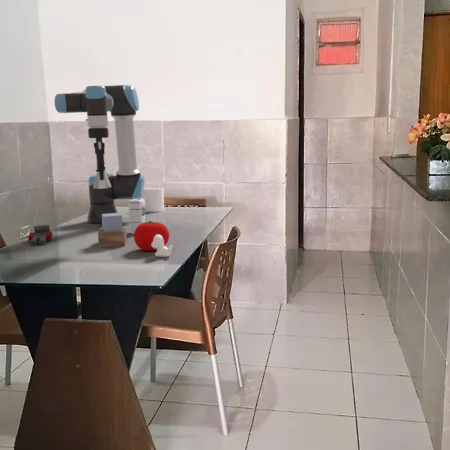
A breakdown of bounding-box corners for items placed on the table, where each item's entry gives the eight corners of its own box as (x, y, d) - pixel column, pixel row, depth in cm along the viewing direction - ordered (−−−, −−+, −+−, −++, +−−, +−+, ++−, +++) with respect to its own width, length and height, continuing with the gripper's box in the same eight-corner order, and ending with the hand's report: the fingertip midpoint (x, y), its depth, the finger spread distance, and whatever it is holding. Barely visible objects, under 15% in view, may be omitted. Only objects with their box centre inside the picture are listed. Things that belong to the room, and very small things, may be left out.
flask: (94, 187, 220) (92, 161, 218) (112, 186, 221) (111, 161, 219) (91, 189, 213) (89, 163, 211) (110, 188, 214) (108, 162, 212)
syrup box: (142, 233, 241) (140, 200, 238) (129, 233, 242) (127, 200, 239) (147, 231, 246) (145, 198, 243) (134, 231, 247) (132, 198, 245)
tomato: (131, 248, 213) (129, 220, 211) (164, 244, 218) (163, 217, 216) (139, 255, 202) (137, 225, 200) (173, 250, 207) (172, 221, 205)
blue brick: (102, 228, 223) (101, 214, 222) (120, 227, 225) (119, 212, 224) (104, 231, 217) (103, 216, 216) (122, 230, 219) (121, 215, 218)
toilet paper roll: (162, 212, 298) (161, 189, 296) (140, 212, 298) (139, 190, 296) (165, 208, 309) (164, 187, 307) (144, 209, 310) (143, 187, 307)
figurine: (153, 254, 202) (152, 233, 201) (175, 254, 201) (174, 232, 200) (150, 258, 197) (149, 236, 196) (172, 258, 196) (171, 236, 195)
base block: (101, 242, 227) (100, 227, 226) (126, 241, 228) (125, 226, 226) (98, 247, 217) (97, 232, 216) (124, 246, 218) (124, 231, 217)
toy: (49, 250, 224) (54, 236, 238) (48, 236, 222) (53, 222, 236) (27, 252, 223) (33, 237, 237) (25, 237, 221) (31, 224, 235)
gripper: (87, 127, 221) (91, 185, 225) (88, 128, 202) (92, 190, 206) (107, 127, 223) (110, 184, 227) (109, 127, 204) (113, 189, 208)
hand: (102, 187), depth 217 cm, fingers closed on flask, 7 cm apart
